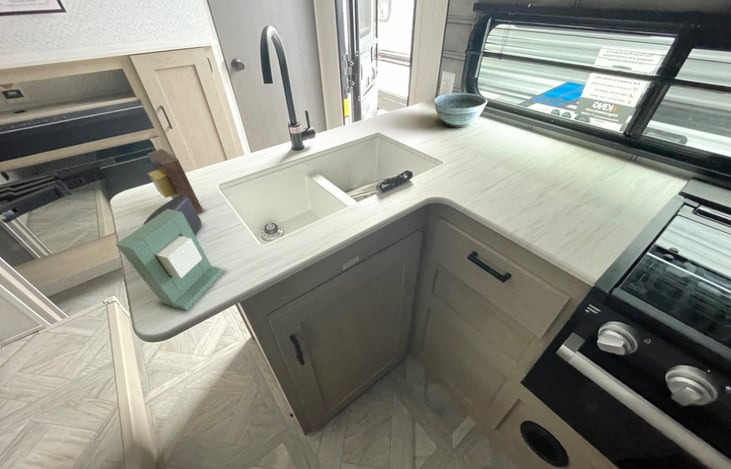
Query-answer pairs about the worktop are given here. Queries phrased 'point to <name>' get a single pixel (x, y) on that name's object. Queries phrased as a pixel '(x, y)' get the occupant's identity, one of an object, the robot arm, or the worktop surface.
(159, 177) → the brass switch
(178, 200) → the leaning round-cornered charcoal block
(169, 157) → the brown switch panel
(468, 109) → the bowl
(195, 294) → the pale green angular block
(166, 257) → the protruding squarish ivory block
